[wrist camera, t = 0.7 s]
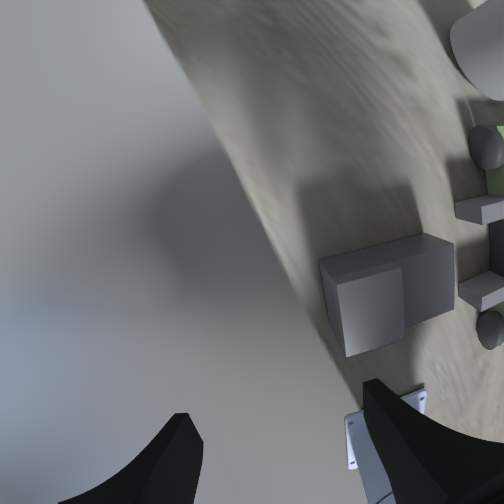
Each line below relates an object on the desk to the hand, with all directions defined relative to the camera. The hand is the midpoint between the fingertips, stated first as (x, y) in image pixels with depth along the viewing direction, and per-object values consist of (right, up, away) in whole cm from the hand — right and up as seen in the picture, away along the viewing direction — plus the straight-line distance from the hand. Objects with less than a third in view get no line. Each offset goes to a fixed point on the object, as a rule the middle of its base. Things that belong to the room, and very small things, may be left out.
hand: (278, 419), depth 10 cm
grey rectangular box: (+8, +5, +8) cm, 12 cm away
